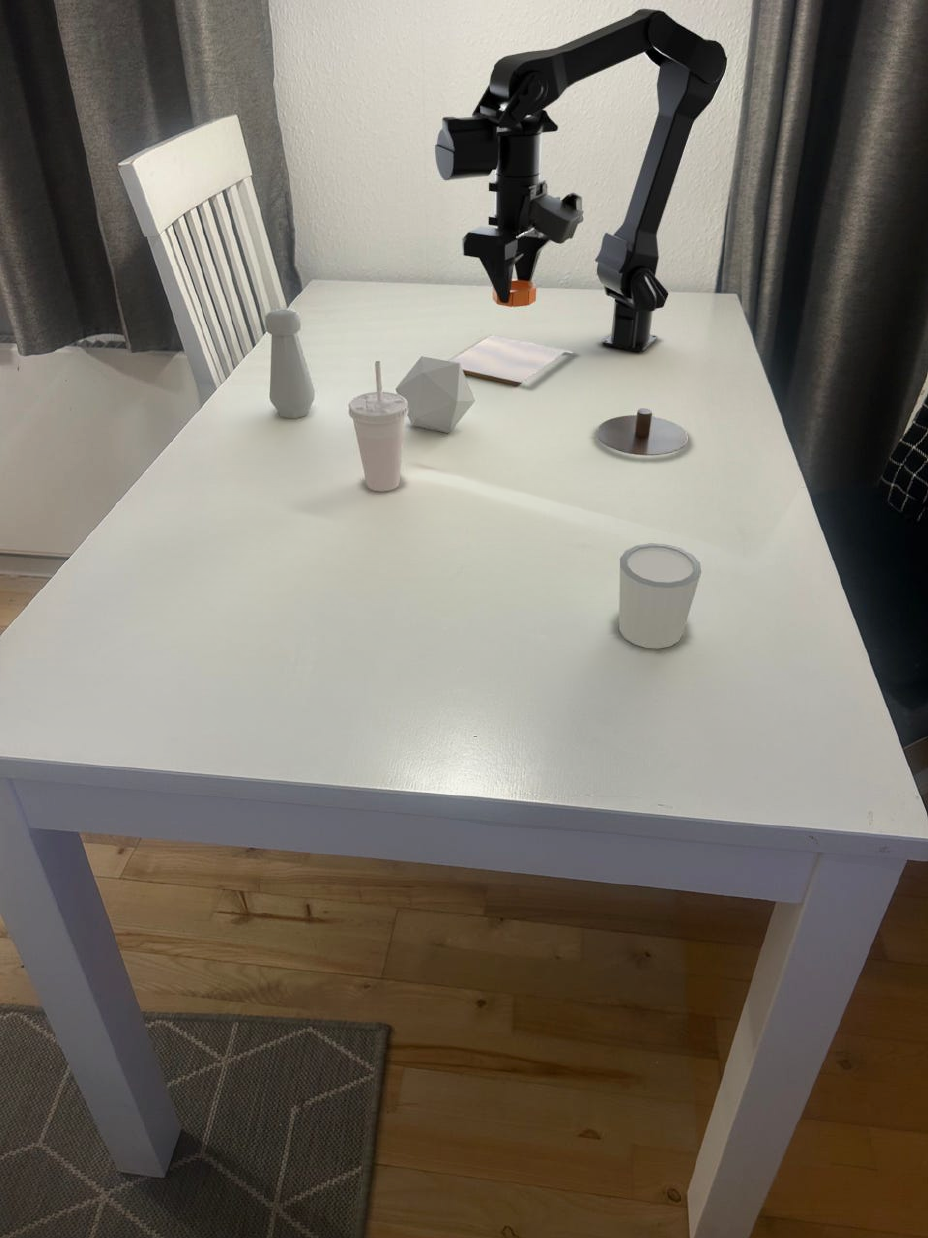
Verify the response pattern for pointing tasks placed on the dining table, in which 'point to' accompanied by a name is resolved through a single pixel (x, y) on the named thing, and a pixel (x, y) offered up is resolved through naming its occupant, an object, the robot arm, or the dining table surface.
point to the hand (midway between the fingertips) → (514, 296)
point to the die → (436, 394)
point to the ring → (519, 294)
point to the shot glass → (656, 593)
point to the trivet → (506, 359)
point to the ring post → (642, 434)
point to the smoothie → (380, 434)
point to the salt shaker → (288, 366)
